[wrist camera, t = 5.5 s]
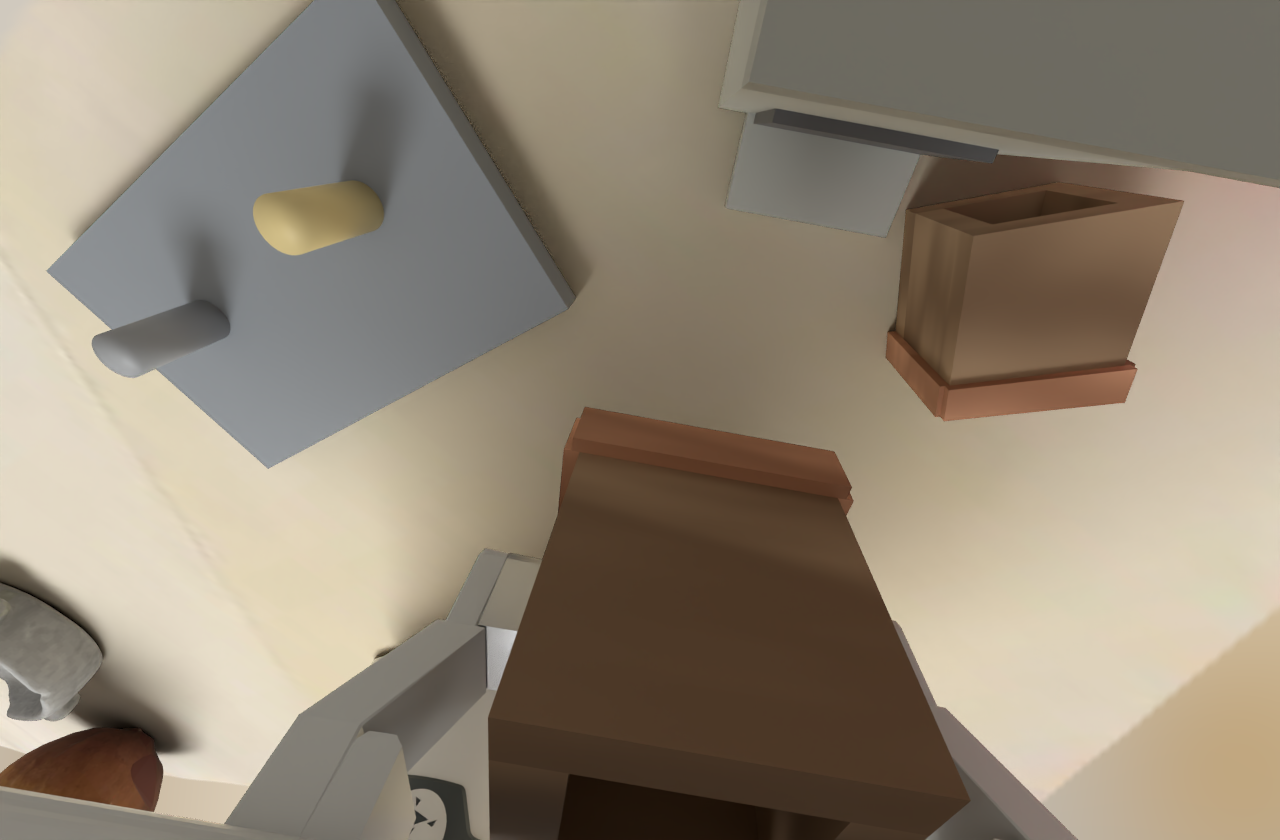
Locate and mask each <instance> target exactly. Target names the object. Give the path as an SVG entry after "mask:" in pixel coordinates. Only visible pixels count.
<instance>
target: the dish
mask: <svg viewBox="0 0 1280 840" xmlns="http://www.w3.org/2000/svg"><path fill="white" fill-rule="evenodd" d="M102 657H103V656H102V653H101V651H100V649H99V647H98V646H97V644H96V643H95V641H94V640H93V639H92V638H91V637H90V636H89V635H88V634H87V633H86V632H85V631H84V630H83V629H82V628H81V627H79V626H78V625H77V624H76V623H74V622H73V621H71V620H70V619H68V618H67V617H65V616H64V615H62V614H61V613H59V612H58V611H57V610H55V609H54V608H52V607H51V606H49V605H47V604H46V603H44V602H42V601H40V600H39V599H37V598H35V597H33V596H31V595H29V594H27V593H25V592H22V591H20V590H18V589H16V588H13V587H10V586H8V585H5V584H2V583H0V678H1V679H3V680H5V681H6V683H7V684H8V687H9V698H10V699H9V702H10V707H9V709H8V711H7V716H8V717H10V718H12V719H16V720H23V721H37V720H41V719H43V718H44V719H45V720H49V721H58V720H60V719H63V718H64V717H66V716H67V715H68V714H69V713H70V712H71V711H72V710H73V709H74V707H75V706H76V705H77V704H78V702H79V700H80V695H79V694H78V692H79V691H80V690H81V689H82V687H83V686H84V685H85V684H86V683H87V682H88V681H89V680H90V679H91V678H92V676H93V675H94V674H95V673H96V671H97V670H98V669H99V667H100V665H101V663H102Z"/></svg>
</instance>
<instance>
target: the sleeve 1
mask: <svg viewBox="0 0 1280 840" xmlns="http://www.w3.org/2000/svg"><path fill="white" fill-rule="evenodd" d="M851 488H852V486H851V484H850V482H849V480H848V478H847V476H846V474H845V472H844V470H843V468H842V466H841V464H840V462H839V460H838V458H837V456H836V454H835V452H833V451H828V450H822V449H817V448H811V447H806V446H800V445H795V444H789V443H783V442H778V441H772V440H767V439H761V438H756V437H750V436H744V435H739V434H733V433H728V432H722V431H717V430H711V429H705V428H700V427H694V426H689V425H683V424H678V423H672V422H667V421H661V420H655V419H650V418H644V417H639V416H633V415H628V414H622V413H616V412H611V411H605V410H600V409H594V408H589V407H585V408H584V410H583V413H582V416H581V418H576V420H575V423H574V425H573V428H572V430H571V433H570V435H569V438H568V440H567V443H566V445H565V448H564V454H563V465H562V476H561V486H560V497H559V508H558V516H557V519H556V521H555V524H554V527H553V530H552V533H551V536H550V539H549V542H548V545H547V548H546V550H545V553H544V556H543V559H542V562H541V565H540V568H539V571H538V574H537V576H536V579H535V582H534V585H533V588H532V591H531V594H530V597H529V600H528V602H527V605H526V608H525V611H524V614H523V617H522V620H521V623H520V626H519V629H518V631H517V634H516V637H515V640H514V643H513V646H512V649H511V652H510V655H509V657H508V660H507V663H506V666H505V669H504V672H503V675H502V678H501V681H500V684H499V686H498V689H497V692H496V695H495V698H494V701H493V704H492V707H491V710H490V712H489V715H488V760H489V830H490V840H925V839H927V838H928V837H929V836H930V835H931V834H932V833H934V832H935V831H936V830H937V829H938V828H939V827H941V826H942V825H943V824H944V823H945V822H947V821H948V820H949V819H950V818H951V817H952V816H954V815H955V814H956V813H957V812H958V811H960V810H961V809H962V808H963V807H964V806H965V805H967V804H968V803H969V802H970V801H971V800H970V798H969V795H968V793H967V791H966V788H965V786H964V784H963V782H962V779H961V777H960V775H959V772H958V770H957V768H956V766H955V763H954V761H953V759H952V756H951V754H950V752H949V750H948V747H947V745H946V743H945V741H944V738H943V736H942V734H941V731H940V729H939V727H938V725H937V722H936V720H935V718H934V715H933V713H932V711H931V709H930V706H929V704H928V702H927V700H926V697H925V695H924V693H923V690H922V688H921V686H920V684H919V681H918V679H917V677H916V674H915V672H914V670H913V668H912V665H911V663H910V661H909V658H908V656H907V654H906V652H905V649H904V647H903V645H902V643H901V640H900V638H899V636H898V633H897V631H896V629H895V627H894V624H893V622H892V620H891V617H890V615H889V613H888V611H887V608H886V606H885V604H884V601H883V599H882V597H881V595H880V592H879V590H878V588H877V586H876V583H875V581H874V579H873V576H872V574H871V572H870V570H869V567H868V565H867V563H866V560H865V558H864V556H863V554H862V551H861V549H860V547H859V545H858V542H857V540H856V538H855V535H854V533H853V531H852V529H851V526H850V524H849V522H848V519H847V517H846V515H847V513H848V511H849V509H850V507H851V505H852V503H853V499H852V497H851V494H850V490H851Z"/></svg>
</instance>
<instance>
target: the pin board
mask: <svg viewBox="0 0 1280 840" xmlns="http://www.w3.org/2000/svg"><path fill="white" fill-rule="evenodd" d="M47 272H48V273H49V274H50V275H51V276H52V277H53V278H55V279H56V280H57V281H58V282H59V283H60V284H61V285H62V286H63V287H65V288H66V289H67V290H68V291H69V292H70V293H71V294H72V295H74V296H75V297H76V298H77V299H78V300H79V301H80V302H81V303H83V304H84V305H85V306H86V307H87V308H88V309H89V310H90V311H92V312H93V313H94V314H95V315H96V316H97V317H98V318H99V319H101V320H102V321H103V322H104V323H105V324H106V325H107V326H108V327H110V328H111V329H112V330H110V331H107V332H104V333H101V334H98V335H96V336H95V337H94V338H93V339H92V347H93V350H94V352H95V354H96V356H97V357H98V358H99V360H100V361H101V362H102V363H103V364H104V365H105V366H107V367H108V368H109V369H110V370H112V371H114V372H115V373H117V374H119V375H122V376H125V377H129V378H135V377H139V376H141V375H143V374H145V373H147V372H150V371H152V370H154V369H157V370H158V371H159V372H160V373H161V374H162V375H163V376H165V377H166V378H167V379H168V380H169V381H170V382H171V383H172V384H174V385H175V386H176V387H177V388H178V389H179V390H180V391H181V392H183V393H184V394H185V395H186V396H187V397H188V398H189V399H190V400H192V401H193V402H194V403H195V404H196V405H197V406H198V407H199V408H200V409H202V410H203V411H204V412H205V413H206V414H207V415H208V416H209V417H211V418H212V419H213V420H214V421H215V422H216V423H217V424H218V425H220V426H221V427H222V428H223V429H224V430H225V431H226V432H227V433H229V434H230V435H231V436H232V437H233V438H234V439H235V440H236V441H238V442H239V443H240V444H241V445H242V446H243V447H244V448H245V449H247V450H248V451H249V452H250V453H251V454H252V455H253V456H254V457H256V458H257V459H258V460H259V461H260V462H261V463H262V464H263V465H264V466H266V467H267V468H268V469H269V468H270V467H272V466H274V465H276V464H278V463H280V462H282V461H284V460H285V459H287V458H289V457H291V456H293V455H295V454H297V453H299V452H301V451H302V450H304V449H306V448H308V447H310V446H312V445H314V444H316V443H317V442H319V441H321V440H323V439H325V438H327V437H329V436H331V435H332V434H334V433H336V432H338V431H340V430H342V429H344V428H346V427H348V426H349V425H351V424H353V423H355V422H357V421H359V420H361V419H363V418H364V417H366V416H368V415H370V414H372V413H374V412H376V411H378V410H379V409H381V408H383V407H385V406H387V405H389V404H391V403H393V402H394V401H396V400H398V399H400V398H402V397H404V396H406V395H408V394H410V393H411V392H413V391H415V390H417V389H419V388H421V387H423V386H425V385H426V384H428V383H430V382H432V381H434V380H436V379H438V378H440V377H441V376H443V375H445V374H447V373H449V372H451V371H453V370H455V369H457V368H458V367H460V366H462V365H464V364H466V363H468V362H470V361H472V360H473V359H475V358H477V357H479V356H481V355H483V354H485V353H487V352H488V351H490V350H492V349H494V348H496V347H498V346H500V345H502V344H503V343H505V342H507V341H509V340H511V339H513V338H515V337H517V336H519V335H520V334H522V333H524V332H526V331H528V330H530V329H532V328H534V327H535V326H537V325H539V324H541V323H543V322H545V321H547V320H549V319H550V318H552V317H554V316H556V315H558V314H560V313H562V312H564V311H566V310H567V309H569V307H570V306H571V304H572V303H573V301H574V300H575V298H576V297H575V295H574V294H573V292H572V291H571V289H570V287H569V286H568V284H567V282H566V281H565V279H564V277H563V276H562V274H561V272H560V271H559V269H558V267H557V266H556V264H555V263H554V261H553V259H552V258H551V256H550V254H549V253H548V251H547V249H546V248H545V246H544V244H543V243H542V241H541V240H540V238H539V236H538V235H537V233H536V231H535V230H534V228H533V226H532V225H531V223H530V221H529V220H528V218H527V216H526V215H525V213H524V212H523V210H522V208H521V207H520V205H519V203H518V202H517V200H516V198H515V197H514V195H513V193H512V192H511V190H510V189H509V187H508V185H507V184H506V182H505V180H504V179H503V177H502V175H501V174H500V172H499V170H498V169H497V167H496V165H495V164H494V162H493V161H492V159H491V157H490V156H489V154H488V152H487V151H486V149H485V147H484V146H483V144H482V142H481V141H480V139H479V137H478V136H477V134H476V133H475V131H474V129H473V128H472V126H471V124H470V123H469V121H468V119H467V118H466V116H465V114H464V113H463V111H462V110H461V108H460V106H459V105H458V103H457V101H456V100H455V98H454V96H453V95H452V93H451V91H450V90H449V88H448V86H447V85H446V83H445V82H444V80H443V78H442V77H441V75H440V73H439V72H438V70H437V68H436V67H435V65H434V63H433V62H432V60H431V59H430V57H429V55H428V54H427V52H426V50H425V49H424V47H423V45H422V44H421V42H420V40H419V39H418V37H417V35H416V34H415V32H414V31H413V29H412V27H411V26H410V24H409V22H408V21H407V19H406V17H405V16H404V14H403V12H402V11H401V9H400V8H399V6H398V4H397V3H396V1H395V0H314V1H313V2H312V3H311V4H310V5H309V6H308V7H307V8H306V9H305V10H304V11H303V12H302V13H301V14H300V15H299V16H298V17H297V18H296V19H295V20H294V21H293V22H292V23H291V24H290V25H289V26H288V27H287V28H286V29H285V30H284V31H283V32H282V33H281V34H280V35H279V36H278V37H277V38H276V39H275V40H274V41H273V42H272V43H271V44H270V45H269V46H268V47H267V48H266V49H265V51H264V52H263V53H262V54H261V55H260V56H259V57H258V58H257V59H256V60H255V61H254V62H253V63H252V64H251V65H250V66H249V67H248V68H247V69H246V70H245V71H244V72H243V73H242V74H241V75H240V76H239V77H238V78H237V79H236V80H235V81H234V82H233V83H232V84H231V85H230V86H229V87H228V88H227V89H226V90H225V91H224V92H223V93H222V94H221V95H220V96H219V97H218V98H217V99H216V100H215V101H214V102H213V103H212V104H211V105H210V106H209V107H208V108H207V109H206V110H205V111H204V112H203V113H202V114H201V115H200V116H199V117H198V118H197V119H196V120H195V121H194V122H193V123H192V124H191V125H190V126H189V127H188V128H187V129H186V130H185V131H184V132H183V133H182V134H181V135H180V136H179V137H178V138H177V139H176V140H175V141H174V142H173V143H172V144H171V145H170V146H169V147H168V148H167V149H166V150H165V152H164V153H163V154H162V155H161V156H160V157H159V158H158V159H157V160H156V161H155V162H154V163H153V164H152V165H151V166H150V167H149V168H148V169H147V170H146V171H145V172H144V173H143V174H142V175H141V176H140V177H139V178H138V179H137V180H136V181H135V182H134V183H133V184H132V185H131V186H130V187H129V188H128V189H127V190H126V191H125V192H124V193H123V194H122V195H121V196H120V197H119V198H118V199H117V200H116V201H115V202H114V203H113V204H112V205H111V206H110V207H109V208H108V209H107V210H106V211H105V212H104V213H103V214H102V215H101V216H100V217H99V218H98V219H97V220H96V221H95V222H94V223H93V224H92V225H91V226H90V227H89V228H88V229H87V230H86V231H85V232H84V233H83V234H82V235H81V236H80V237H79V238H78V239H77V240H76V241H75V242H74V243H73V244H72V245H71V246H70V247H69V248H68V249H67V250H66V251H65V253H64V254H63V255H62V256H61V257H60V258H59V259H58V260H57V261H56V262H55V263H54V264H53V265H52V266H51V267H50V268H49V269H48V270H47Z"/></svg>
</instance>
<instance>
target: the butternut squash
mask: <svg viewBox="0 0 1280 840" xmlns="http://www.w3.org/2000/svg"><path fill="white" fill-rule="evenodd" d="M162 779H163V766H162V764H161V762H160V760H159V758H158V756H157V753H156V751H155V744H154V739H153V738H152V737H150V736H148V735H147V734H145V733H143V732H142V730H141V729H138V728H124V729H116V728H110V727H102V728H92V729H88V730H84V731H80V732H75V733H72V734H70V735H67V736H65V737H62V738H59V739H57V740H54V741H52V742H49V743H47V744H44V745H42V746H40V747H38V748H37V749H35V750H33V751H31V752H29V753H27V754H25V755H24V756H23V757H21V758H20V759H18V760H17V761H15V762H14V763H12V764H11V765H9V766H8V767H7V768H6V769H5V770H4V771H2V772H1V773H0V786H3V787H9V788H15V789H21V790H27V791H33V792H38V793H44V794H50V795H56V796H62V797H68V798H74V799H80V800H85V801H91V802H97V803H103V804H109V805H115V806H121V807H127V808H132V809H138V810H144V811H150V812H154V810H155V807H156V804H157V801H158V798H159V793H160V788H161V783H162Z"/></svg>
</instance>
